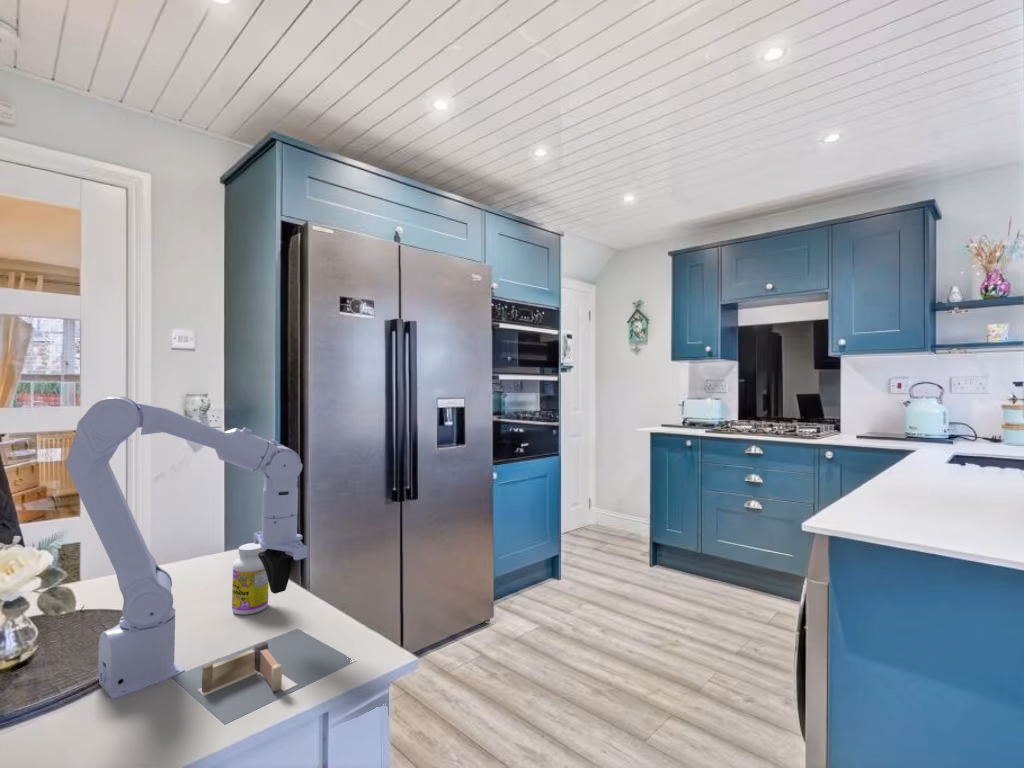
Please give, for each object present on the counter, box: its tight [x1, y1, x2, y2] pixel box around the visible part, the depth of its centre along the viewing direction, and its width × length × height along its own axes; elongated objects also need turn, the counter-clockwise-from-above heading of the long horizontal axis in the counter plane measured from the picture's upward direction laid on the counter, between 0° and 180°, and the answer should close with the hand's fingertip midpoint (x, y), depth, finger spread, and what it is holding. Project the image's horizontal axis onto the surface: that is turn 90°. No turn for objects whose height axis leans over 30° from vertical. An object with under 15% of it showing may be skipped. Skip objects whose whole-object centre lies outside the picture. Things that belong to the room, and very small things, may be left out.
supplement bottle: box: [231, 542, 269, 616], centre depth 107 cm, size 7×7×13 cm
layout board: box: [171, 628, 355, 725], centre depth 84 cm, size 21×18×1 cm
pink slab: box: [260, 649, 282, 691], centre depth 81 cm, size 8×1×3 cm, turn 41°
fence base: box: [202, 641, 268, 692], centre depth 81 cm, size 10×2×4 cm, turn 143°
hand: (278, 591), depth 93 cm, fingers closed
